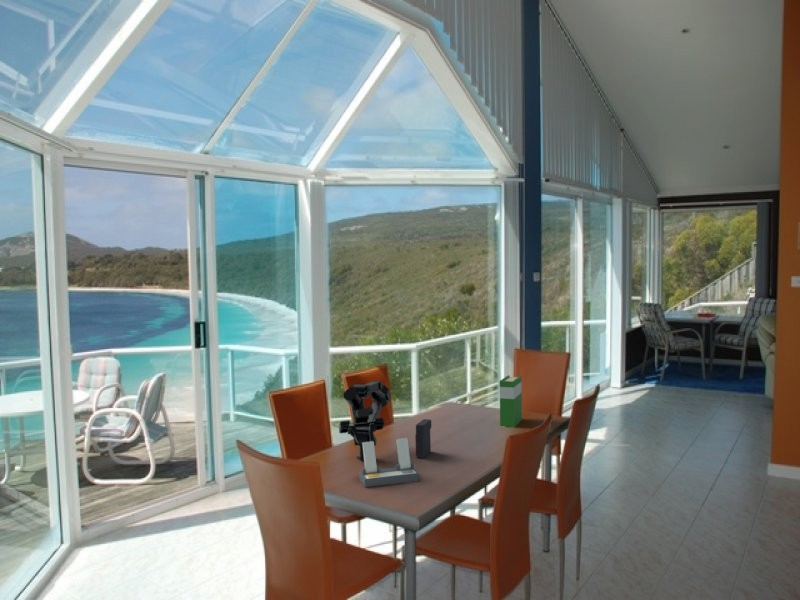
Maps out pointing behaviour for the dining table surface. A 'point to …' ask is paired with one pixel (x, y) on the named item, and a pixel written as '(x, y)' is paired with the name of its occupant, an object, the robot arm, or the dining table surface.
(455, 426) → the dining table surface
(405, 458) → the lever slate
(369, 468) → the white switch lever
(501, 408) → the hardback book
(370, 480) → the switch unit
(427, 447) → the dark gray upright box
